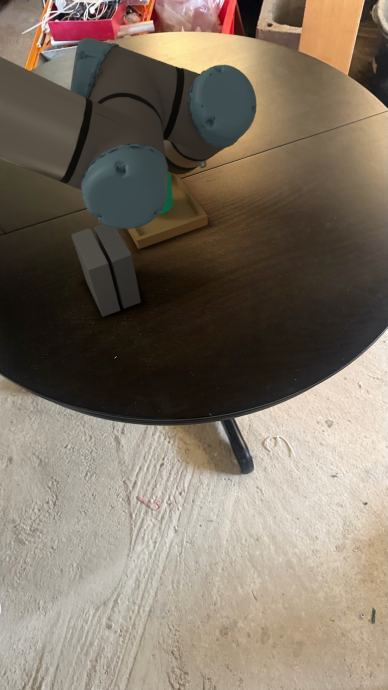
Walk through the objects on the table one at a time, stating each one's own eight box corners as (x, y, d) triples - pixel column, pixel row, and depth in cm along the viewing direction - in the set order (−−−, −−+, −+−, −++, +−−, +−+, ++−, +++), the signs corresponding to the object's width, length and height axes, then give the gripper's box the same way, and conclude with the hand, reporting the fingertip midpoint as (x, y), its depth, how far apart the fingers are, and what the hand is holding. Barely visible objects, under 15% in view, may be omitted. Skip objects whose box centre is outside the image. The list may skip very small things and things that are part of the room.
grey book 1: (86, 282, 80) (70, 234, 70) (103, 276, 80) (90, 227, 71) (102, 317, 75) (88, 270, 66) (120, 310, 76) (108, 263, 67)
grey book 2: (106, 275, 80) (93, 226, 71) (123, 269, 81) (112, 220, 72) (123, 309, 76) (112, 261, 67) (141, 302, 77) (131, 254, 68)
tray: (88, 162, 97) (86, 153, 95) (149, 143, 100) (148, 134, 98) (138, 249, 83) (137, 240, 82) (207, 224, 86) (207, 215, 85)
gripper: (135, 189, 62) (109, 213, 84) (250, 147, 67) (196, 180, 89) (113, 132, 61) (91, 171, 82) (232, 92, 65) (182, 139, 87)
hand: (146, 175), depth 86 cm, fingers closed on candle, 5 cm apart
